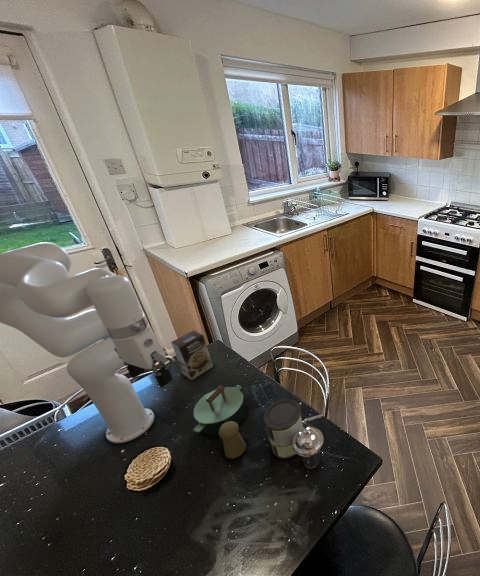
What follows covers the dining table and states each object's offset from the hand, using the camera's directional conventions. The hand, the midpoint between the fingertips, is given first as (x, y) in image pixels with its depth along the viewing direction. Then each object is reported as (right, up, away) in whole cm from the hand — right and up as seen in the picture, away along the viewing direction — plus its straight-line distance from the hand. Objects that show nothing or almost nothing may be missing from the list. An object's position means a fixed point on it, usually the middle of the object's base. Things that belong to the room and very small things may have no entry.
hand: (152, 378), depth 82 cm
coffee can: (+31, -25, +15) cm, 43 cm away
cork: (+16, -26, +13) cm, 33 cm away
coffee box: (-13, -9, +42) cm, 45 cm away
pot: (+7, -20, +23) cm, 31 cm away
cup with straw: (+40, -28, +10) cm, 50 cm away
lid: (+7, -14, +20) cm, 25 cm away
